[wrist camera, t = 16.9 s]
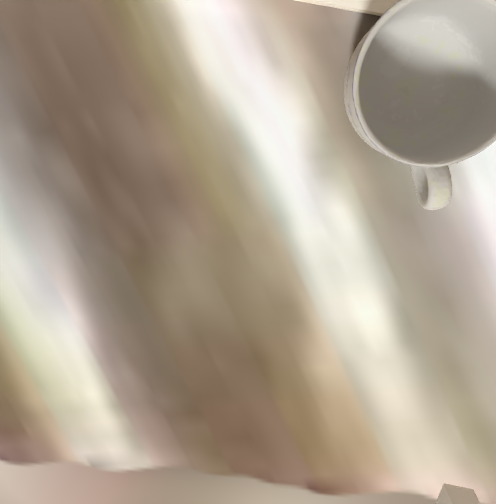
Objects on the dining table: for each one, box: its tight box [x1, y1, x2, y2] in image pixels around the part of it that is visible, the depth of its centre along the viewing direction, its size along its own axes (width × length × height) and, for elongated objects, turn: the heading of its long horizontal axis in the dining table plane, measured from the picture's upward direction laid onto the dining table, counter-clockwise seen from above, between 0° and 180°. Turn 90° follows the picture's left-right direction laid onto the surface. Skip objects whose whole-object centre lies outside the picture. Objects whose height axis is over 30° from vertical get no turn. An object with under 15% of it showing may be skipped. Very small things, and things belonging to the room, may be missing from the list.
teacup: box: [344, 0, 496, 210], centre depth 31 cm, size 14×11×8 cm
